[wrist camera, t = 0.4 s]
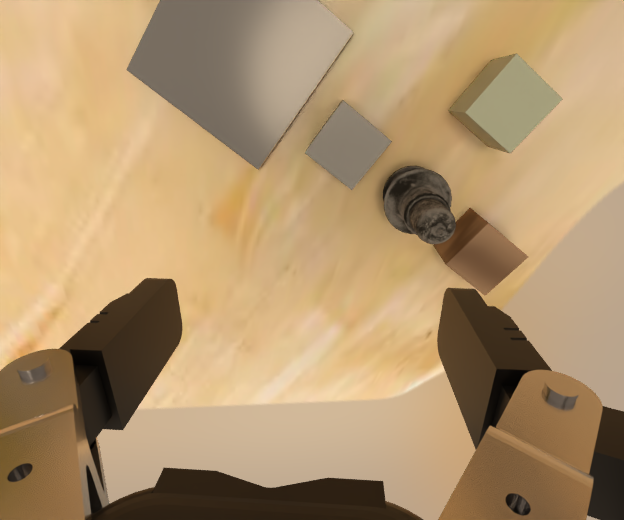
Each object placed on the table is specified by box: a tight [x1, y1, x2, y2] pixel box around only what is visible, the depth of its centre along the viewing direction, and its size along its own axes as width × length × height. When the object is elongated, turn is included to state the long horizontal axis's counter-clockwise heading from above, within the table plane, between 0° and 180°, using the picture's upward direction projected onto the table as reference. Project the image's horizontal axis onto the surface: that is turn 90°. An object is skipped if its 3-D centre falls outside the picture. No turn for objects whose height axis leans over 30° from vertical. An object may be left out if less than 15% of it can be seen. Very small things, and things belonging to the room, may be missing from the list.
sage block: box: [448, 54, 562, 153], centre depth 31 cm, size 5×5×5 cm
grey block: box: [305, 100, 392, 190], centre depth 33 cm, size 5×5×5 cm
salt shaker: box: [383, 166, 456, 244], centre depth 31 cm, size 6×6×12 cm
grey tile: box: [127, 0, 354, 170], centre depth 32 cm, size 14×14×1 cm
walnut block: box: [434, 208, 528, 295], centre depth 36 cm, size 5×5×5 cm
